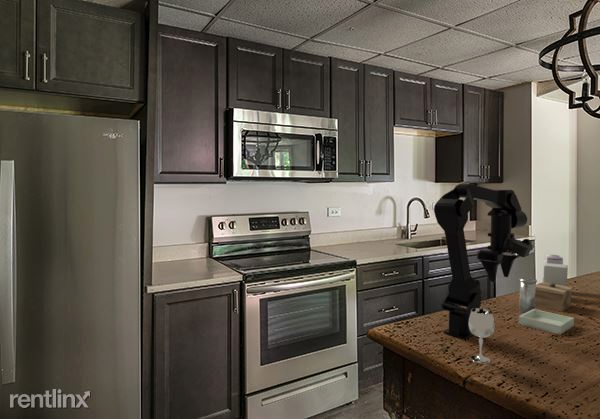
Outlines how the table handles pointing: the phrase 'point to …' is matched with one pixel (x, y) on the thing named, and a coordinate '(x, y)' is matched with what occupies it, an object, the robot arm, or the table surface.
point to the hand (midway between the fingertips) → (499, 279)
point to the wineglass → (481, 329)
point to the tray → (546, 321)
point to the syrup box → (553, 259)
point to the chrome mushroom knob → (527, 294)
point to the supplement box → (555, 274)
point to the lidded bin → (553, 296)
